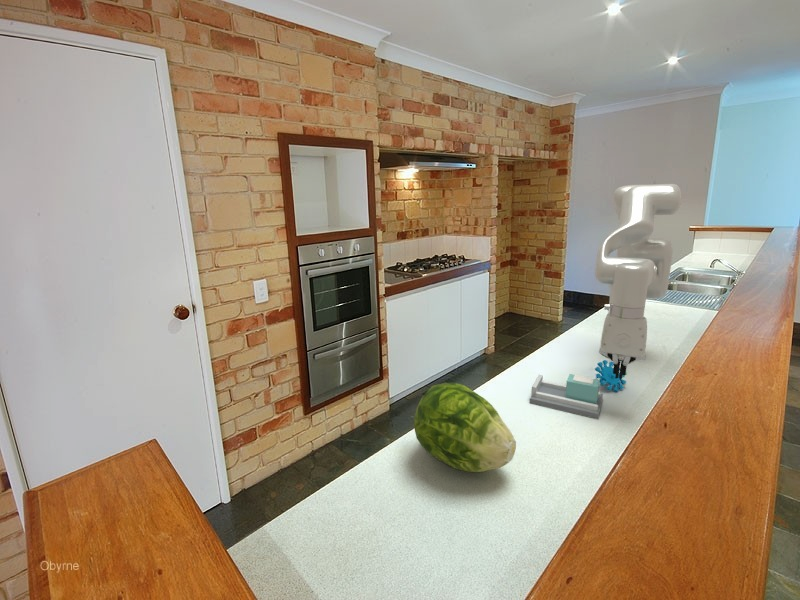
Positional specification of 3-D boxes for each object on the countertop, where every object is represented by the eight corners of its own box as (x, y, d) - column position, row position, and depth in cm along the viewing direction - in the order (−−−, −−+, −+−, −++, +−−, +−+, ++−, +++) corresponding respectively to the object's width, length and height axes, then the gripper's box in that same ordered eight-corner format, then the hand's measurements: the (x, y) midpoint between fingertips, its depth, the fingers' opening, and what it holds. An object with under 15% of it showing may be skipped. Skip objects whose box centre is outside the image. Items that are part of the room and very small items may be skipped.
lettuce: (492, 509, 79) (495, 427, 74) (400, 463, 93) (396, 392, 88) (527, 460, 92) (531, 388, 87) (442, 426, 106) (441, 362, 101)
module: (568, 392, 118) (569, 372, 116) (597, 398, 114) (600, 378, 112) (565, 400, 114) (566, 379, 112) (595, 406, 110) (598, 386, 108)
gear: (604, 391, 118) (593, 359, 123) (591, 396, 123) (581, 366, 128) (635, 390, 121) (622, 359, 126) (621, 395, 126) (610, 365, 130)
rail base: (539, 385, 126) (539, 372, 125) (602, 398, 117) (604, 384, 116) (529, 403, 116) (530, 389, 115) (598, 419, 107) (599, 404, 106)
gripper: (593, 311, 103) (586, 376, 107) (662, 319, 95) (651, 389, 100) (596, 304, 109) (589, 366, 114) (661, 311, 101) (651, 377, 106)
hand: (618, 376), depth 107 cm, fingers closed
